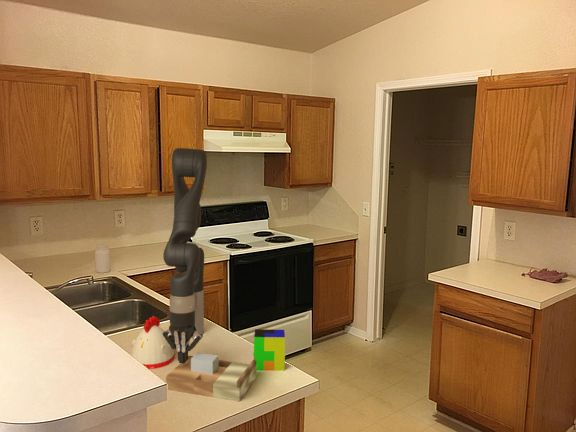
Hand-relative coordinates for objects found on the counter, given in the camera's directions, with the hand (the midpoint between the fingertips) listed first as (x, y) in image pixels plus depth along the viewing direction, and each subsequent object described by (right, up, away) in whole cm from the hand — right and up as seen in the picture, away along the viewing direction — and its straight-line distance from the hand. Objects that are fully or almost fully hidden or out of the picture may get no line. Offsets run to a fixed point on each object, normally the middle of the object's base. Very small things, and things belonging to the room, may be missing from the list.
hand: (182, 362), depth 148 cm
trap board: (+9, -6, -2) cm, 11 cm away
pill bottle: (-71, +14, +122) cm, 141 cm away
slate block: (+7, -2, -1) cm, 7 cm away
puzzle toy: (+26, -5, +13) cm, 29 cm away
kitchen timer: (-13, -3, +13) cm, 19 cm away
